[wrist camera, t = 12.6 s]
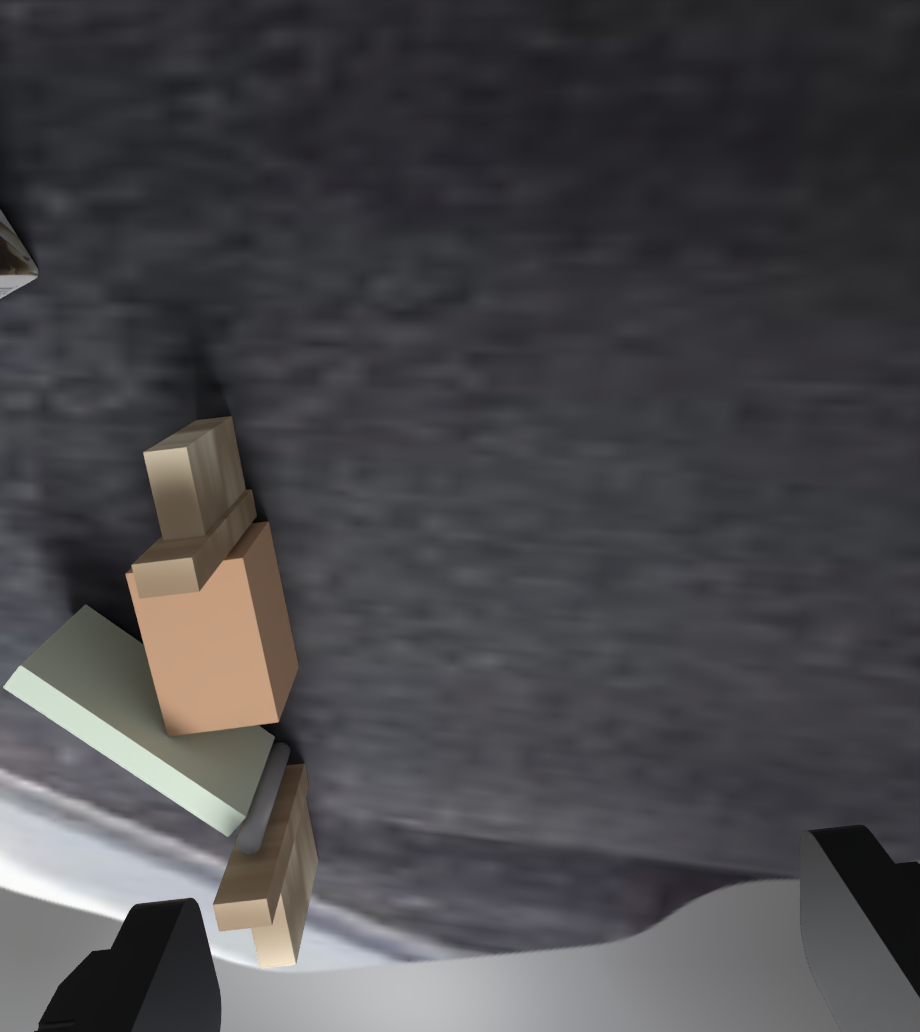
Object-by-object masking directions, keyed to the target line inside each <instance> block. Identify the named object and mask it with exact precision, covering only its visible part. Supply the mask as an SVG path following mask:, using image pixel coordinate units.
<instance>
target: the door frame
mask: <svg viewBox="0 0 920 1032" xmlns="http://www.w3.org/2000/svg"><path fill="white" fill-rule="evenodd" d="M143 454H144V458H145V463H146V467H147V471H148V476H149V480H150V485H151V489H152V493H153V498H154V502H155V507H156V511H157V516H158V520H159V524H160V529H161V533H162V536H161V537H160V538H159V539H158V540H157V541H156V542H155V543H154V544H153V545H152V546H151V547H150V548H148V549H147V550H146V551H145V552H144V553H143V554H142V555H141V556H140V557H139V558H138V559H137V560H136V561H135V562H134V563H133V564H132V565H131V566H132V570H133V574H134V578H135V582H136V586H137V591H138V595H139V599H142V598H151V597H159V596H167V595H176V594H184V593H193V592H200V590H201V589H202V588H203V586H204V585H205V584H206V582H207V581H208V580H209V578H210V577H211V576H212V575H213V573H214V572H215V571H216V569H217V568H218V567H219V565H220V564H221V563H222V561H223V560H224V559H225V557H226V556H227V555H228V553H229V552H230V551H231V550H232V548H233V547H234V546H235V544H236V543H237V542H238V540H239V539H240V538H241V536H242V535H243V534H244V532H245V531H246V530H247V528H248V527H249V526H250V525H251V523H252V522H253V521H254V519H255V518H256V517H257V514H256V508H255V503H254V498H253V493H252V489H250V490H246V487H245V482H244V477H243V472H242V467H241V462H240V456H239V451H238V446H237V441H236V436H235V431H234V426H233V421H232V416H228V417H220V418H211V419H203V420H196V421H194V422H192V423H191V424H189V425H188V426H186V427H184V428H183V429H181V430H179V431H178V432H176V433H174V434H173V435H171V436H169V437H168V438H166V439H164V440H163V441H161V442H159V443H158V444H156V445H155V446H153V447H151V448H150V449H148V450H146V451H145V452H143ZM263 770H264V769H263ZM262 773H263V772H262ZM261 775H262V774H261ZM260 778H261V777H260ZM259 781H260V780H259ZM258 784H259V783H258ZM257 786H258V785H257ZM308 787H309V783H308V778H307V773H306V768H305V763H303V764H294V765H286V767H285V771H284V774H283V777H282V780H281V783H280V786H279V789H278V792H277V796H276V799H275V802H274V805H273V808H272V811H271V814H270V818H269V821H268V824H267V827H266V830H265V833H264V836H263V839H262V843H261V846H260V849H259V850H258V852H256V853H255V854H251V855H247V854H244V853H242V852H241V851H240V850H239V849H238V847H237V842H238V839H239V836H240V833H241V831H242V828H243V825H244V822H245V820H246V818H245V819H244V821H243V823H242V826H241V829H240V832H239V834H238V837H237V840H236V843H235V845H234V848H233V851H232V854H231V856H230V859H229V862H228V865H227V867H226V870H225V873H224V875H223V878H222V881H221V884H220V886H219V889H218V892H217V895H216V897H215V900H214V903H213V908H214V912H215V916H216V920H217V924H218V929H219V931H227V930H236V929H245V928H251V930H252V935H253V939H254V943H255V948H256V952H257V957H258V961H259V965H260V969H262V968H271V967H280V966H289V965H296V962H297V958H298V953H299V948H300V944H301V939H302V934H303V930H304V925H305V920H306V915H307V911H308V906H309V901H310V897H311V892H312V887H313V883H314V878H315V873H316V869H317V864H318V857H317V852H316V847H315V841H314V836H313V831H312V826H311V821H310V816H309V811H308V805H307V800H306V795H307V791H308ZM256 789H257V788H256ZM255 792H256V791H255ZM254 795H255V794H254ZM253 797H254V796H253ZM252 800H253V799H252ZM251 803H252V802H251ZM250 806H251V805H250ZM249 809H250V808H249ZM248 811H249V810H248ZM247 814H248V813H247ZM246 817H247V816H246Z"/></svg>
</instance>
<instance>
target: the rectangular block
mask: <svg viewBox="0 0 920 1032" xmlns="http://www.w3.org/2000/svg"><path fill="white" fill-rule="evenodd" d="M126 578H127V582H128V585H129V589H130V593H131V597H132V601H133V605H134V609H135V612H136V616H137V620H138V624H139V628H140V632H141V635H142V639H143V643H144V647H145V651H146V655H147V658H148V662H149V666H150V670H151V674H152V678H153V681H154V685H155V689H156V693H157V697H158V701H159V704H160V708H161V712H162V716H163V720H164V724H165V727H166V731H167V735H168V737H170V736H178V735H185V734H193V733H201V732H208V731H216V730H223V729H231V728H239V727H246V726H254V725H261V724H269V723H277V722H279V720H280V717H281V715H282V712H283V709H284V706H285V704H286V701H287V698H288V696H289V693H290V690H291V687H292V685H293V682H294V679H295V676H296V674H297V671H298V668H299V666H298V661H297V656H296V651H295V646H294V642H293V637H292V632H291V627H290V622H289V617H288V613H287V608H286V603H285V598H284V593H283V588H282V584H281V579H280V574H279V569H278V564H277V560H276V555H275V550H274V545H273V540H272V535H271V531H270V526H269V521H266V522H258V523H251V525H250V526H249V527H248V528H247V530H246V531H245V532H244V534H243V535H242V536H241V538H240V539H239V540H238V542H237V543H236V544H235V546H234V547H233V548H232V550H231V551H230V552H229V553H228V555H227V556H226V557H225V559H224V560H223V561H222V563H221V564H220V565H219V567H218V568H217V569H216V571H215V572H214V573H213V575H212V576H211V577H210V578H209V580H208V581H207V582H206V584H205V585H204V586H203V588H202V589H201V590H200V592H193V593H184V594H176V595H167V596H159V597H151V598H142V599H139V595H138V591H137V586H136V582H135V578H134V574H133V570H132V568H131V569H130V570H129V571H128V572H127V573H126Z"/></svg>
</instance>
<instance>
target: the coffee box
mask: <svg viewBox="0 0 920 1032" xmlns="http://www.w3.org/2000/svg"><path fill="white" fill-rule="evenodd" d="M37 277H38V268H37V267H36V265H35V263H34V262H33V260H32V258H31V257H30V255H29V254H28V252H27V250H26V249H25V247H24V246H23V244H22V243H21V241H20V239H19V238H18V236H17V235H16V233H15V232H14V230H13V228H12V227H11V225H10V224H9V222H8V220H7V219H6V217H5V216H4V214H3V213H2V211H1V210H0V299H1V298H2V297H4V296H6V295H8V294H9V293H11V292H13V291H14V290H16V289H18V288H20V287H22V286H23V285H25V284H27V283H29V282H31V281H32V280H34V279H35V278H37Z"/></svg>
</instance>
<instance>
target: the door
mask: <svg viewBox="0 0 920 1032" xmlns="http://www.w3.org/2000/svg"><path fill="white" fill-rule="evenodd" d="M3 688H4V689H6V690H7V691H9V692H10V693H12V694H13V695H15V696H16V697H18V698H19V699H21V700H22V701H24V702H25V703H27V704H28V705H30V706H31V707H33V708H34V709H36V710H38V711H39V712H41V713H42V714H44V715H45V716H47V717H48V718H50V719H51V720H53V721H54V722H56V723H57V724H59V725H60V726H62V727H63V728H65V729H66V730H68V731H69V732H71V733H72V734H74V735H75V736H77V737H78V738H80V739H81V740H83V741H84V742H86V743H87V744H89V745H90V746H92V747H93V748H95V749H96V750H98V751H99V752H101V753H102V754H104V755H105V756H107V757H108V758H110V759H111V760H113V761H114V762H116V763H117V764H119V765H120V766H122V767H123V768H125V769H126V770H128V771H129V772H131V773H132V774H134V775H135V776H137V777H138V778H140V779H141V780H143V781H144V782H146V783H147V784H149V785H150V786H152V787H153V788H155V789H156V790H158V791H159V792H161V793H162V794H164V795H165V796H167V797H168V798H170V799H171V800H173V801H174V802H176V803H177V804H179V805H180V806H182V807H183V808H185V809H186V810H188V811H189V812H191V813H192V814H194V815H195V816H197V817H199V818H200V819H202V820H203V821H205V822H206V823H208V824H209V825H211V826H212V827H214V828H215V829H217V830H218V831H220V832H221V833H223V834H224V835H226V836H227V837H229V836H230V834H231V833H232V832H233V831H234V830H235V829H236V828H237V827H238V826H239V824H240V823H241V822H242V821H243V820H244V819H245V818H246V820H245V822H244V825H243V828H242V831H241V833H240V836H239V839H238V842H237V847H238V849H239V850H240V851H241V852H242V853H244V854H247V855H251V854H255V853H256V852H258V850H259V849H260V846H261V843H262V839H263V836H264V833H265V830H266V827H267V824H268V821H269V818H270V814H271V811H272V808H273V805H274V802H275V799H276V796H277V792H278V789H279V786H280V783H281V780H282V777H283V774H284V771H285V767H286V764H287V761H288V758H289V755H290V748H289V746H288V745H287V744H285V743H282V742H278V743H275V744H274V745H273V746H272V744H273V741H274V738H275V737H274V736H273V735H272V734H270V733H269V732H267V731H266V730H264V729H263V728H262V727H260V726H259V725H254V726H246V727H239V728H231V729H223V730H216V731H208V732H201V733H193V734H185V735H178V736H170V737H168V735H167V731H166V727H165V724H164V720H163V716H162V712H161V708H160V704H159V701H158V697H157V693H156V689H155V685H154V681H153V678H152V674H151V670H150V666H149V662H148V658H147V655H146V651H145V647H144V645H143V644H142V643H140V642H139V641H138V640H136V639H135V638H133V637H132V636H130V635H129V634H128V633H126V632H125V631H123V630H122V629H120V628H119V627H118V626H116V625H115V624H113V623H112V622H110V621H109V620H108V619H106V618H105V617H103V616H102V615H100V614H99V613H98V612H96V611H95V610H93V609H92V608H90V607H89V606H88V605H86V604H85V605H84V606H83V607H82V608H81V609H80V610H79V611H78V612H77V613H76V614H75V615H73V616H72V617H71V618H70V619H69V620H68V621H67V622H66V623H65V624H64V625H63V626H62V627H61V628H60V629H58V630H57V631H56V632H55V633H54V634H53V635H52V636H51V637H50V638H49V639H48V640H47V641H46V642H44V643H43V644H42V645H41V646H40V647H39V648H38V649H37V650H36V651H35V652H34V653H33V654H32V655H31V656H29V657H28V658H27V659H26V660H25V661H24V662H23V663H22V664H21V665H20V666H19V667H18V669H17V670H16V671H15V673H14V674H13V675H12V676H11V678H10V679H9V680H8V682H7V683H6V684H5V686H4V687H3ZM271 747H272V748H271ZM270 749H271V750H270ZM269 752H270V753H269ZM268 755H269V756H268ZM267 758H268V759H267ZM265 763H266V764H265ZM264 766H265V767H264ZM263 769H264V770H263ZM262 772H263V773H262ZM261 774H262V775H261ZM260 777H261V778H260ZM259 780H260V781H259ZM258 783H259V784H258ZM257 785H258V786H257ZM256 788H257V789H256ZM255 791H256V792H255ZM254 794H255V795H254ZM253 796H254V797H253ZM252 799H253V800H252ZM251 802H252V803H251ZM250 805H251V806H250ZM249 808H250V809H249ZM248 810H249V811H248ZM247 813H248V814H247ZM246 816H247V817H246Z"/></svg>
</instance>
